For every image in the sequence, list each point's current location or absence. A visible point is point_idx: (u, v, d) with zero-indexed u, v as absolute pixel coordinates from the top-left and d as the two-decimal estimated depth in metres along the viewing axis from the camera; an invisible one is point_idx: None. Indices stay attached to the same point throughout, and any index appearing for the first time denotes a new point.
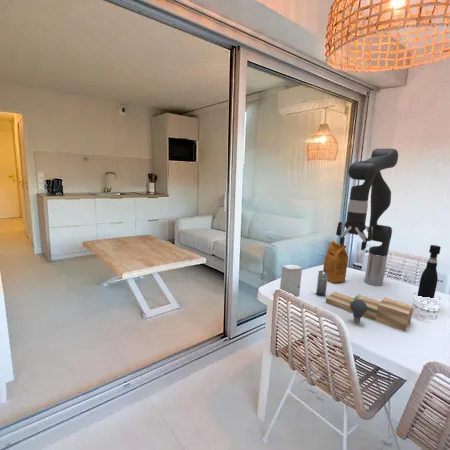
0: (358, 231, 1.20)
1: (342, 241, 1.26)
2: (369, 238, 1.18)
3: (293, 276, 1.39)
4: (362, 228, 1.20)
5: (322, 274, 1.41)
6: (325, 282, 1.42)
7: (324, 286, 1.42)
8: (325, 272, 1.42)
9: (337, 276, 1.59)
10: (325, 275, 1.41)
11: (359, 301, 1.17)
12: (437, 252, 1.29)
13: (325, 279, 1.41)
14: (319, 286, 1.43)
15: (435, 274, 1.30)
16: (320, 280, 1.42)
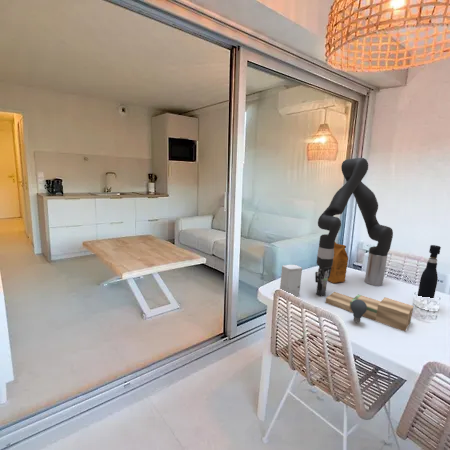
0: (328, 272, 1.43)
1: None
2: (329, 276, 1.46)
3: (293, 276, 1.39)
4: (328, 269, 1.44)
5: None
6: (325, 282, 1.42)
7: (324, 286, 1.42)
8: None
9: (337, 276, 1.59)
10: (325, 275, 1.41)
11: (359, 301, 1.17)
12: (437, 252, 1.29)
13: (325, 279, 1.41)
14: None
15: (435, 274, 1.30)
16: None
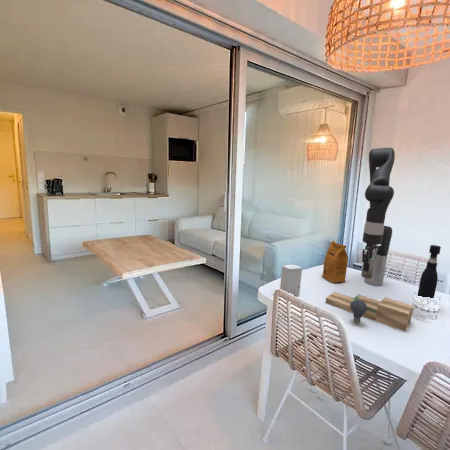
0: (376, 251, 1.25)
1: None
2: (375, 256, 1.29)
3: (293, 276, 1.39)
4: None
5: None
6: (373, 262, 1.24)
7: (371, 266, 1.25)
8: None
9: (337, 276, 1.59)
10: (373, 254, 1.24)
11: (359, 301, 1.17)
12: (437, 252, 1.29)
13: (373, 258, 1.24)
14: None
15: (435, 274, 1.30)
16: None
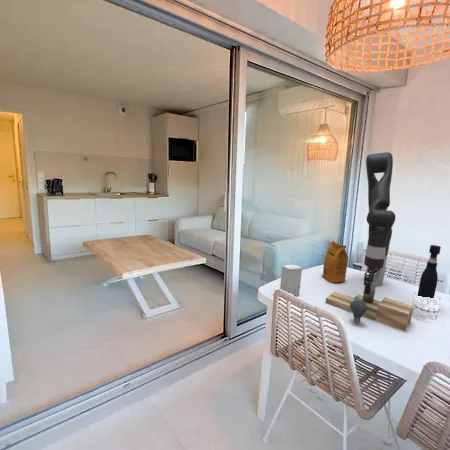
0: (377, 274, 1.26)
1: (370, 289, 1.25)
2: (377, 277, 1.30)
3: (293, 276, 1.39)
4: None
5: (371, 278, 1.25)
6: (374, 287, 1.25)
7: (373, 291, 1.26)
8: None
9: (337, 276, 1.59)
10: (374, 279, 1.24)
11: (359, 301, 1.17)
12: (437, 252, 1.29)
13: (374, 284, 1.25)
14: None
15: (435, 274, 1.30)
16: None
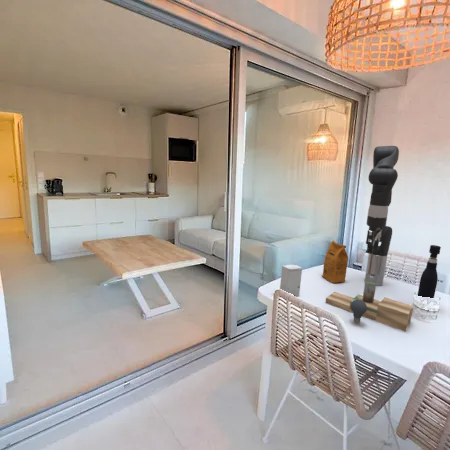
0: (380, 233, 1.26)
1: (373, 249, 1.24)
2: (381, 236, 1.31)
3: (293, 276, 1.39)
4: (379, 230, 1.27)
5: (371, 278, 1.25)
6: (374, 287, 1.25)
7: (373, 291, 1.26)
8: (374, 276, 1.26)
9: (337, 276, 1.59)
10: (374, 279, 1.25)
11: (359, 301, 1.17)
12: (437, 252, 1.29)
13: (374, 284, 1.25)
14: (367, 291, 1.27)
15: (435, 274, 1.30)
16: (368, 285, 1.26)
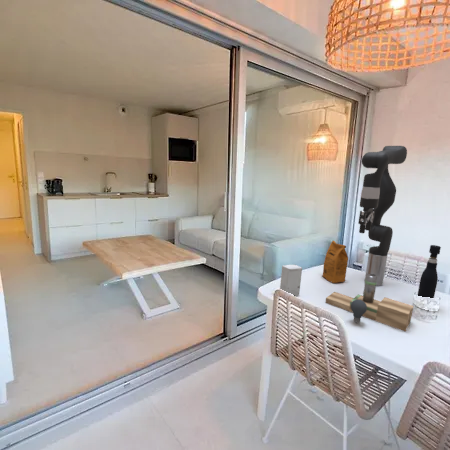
0: (372, 215, 1.33)
1: (365, 228, 1.30)
2: (373, 218, 1.37)
3: (293, 276, 1.39)
4: (372, 211, 1.34)
5: (371, 278, 1.25)
6: (374, 287, 1.25)
7: (373, 291, 1.26)
8: (374, 276, 1.26)
9: (337, 276, 1.59)
10: (374, 279, 1.25)
11: (359, 301, 1.17)
12: (437, 252, 1.29)
13: (374, 284, 1.25)
14: (367, 291, 1.27)
15: (435, 274, 1.30)
16: (368, 285, 1.26)
